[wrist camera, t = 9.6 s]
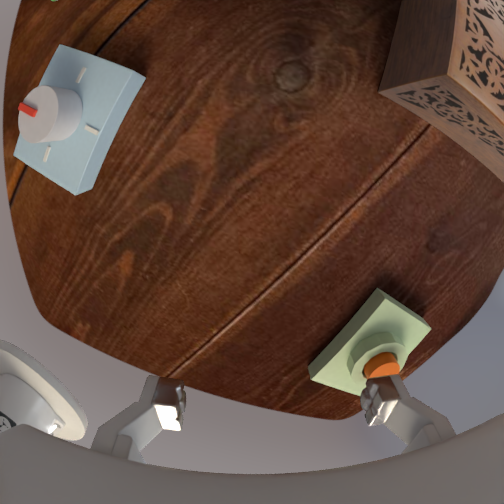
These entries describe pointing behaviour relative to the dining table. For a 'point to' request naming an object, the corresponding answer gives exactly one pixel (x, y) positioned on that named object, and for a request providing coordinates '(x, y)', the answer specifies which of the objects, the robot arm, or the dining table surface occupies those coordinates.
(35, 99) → the dial
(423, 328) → the button block
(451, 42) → the tissue box cover
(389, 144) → the dining table surface
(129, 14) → the dining table surface
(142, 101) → the dining table surface
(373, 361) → the button
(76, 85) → the panel
